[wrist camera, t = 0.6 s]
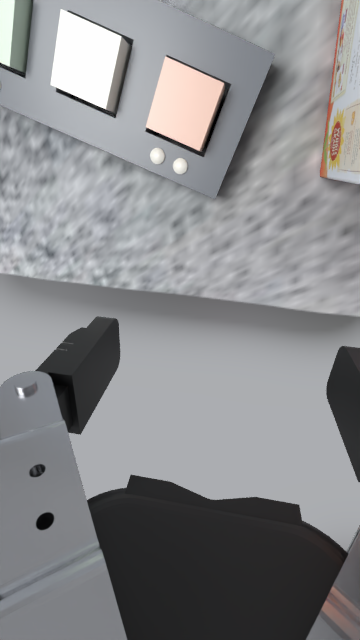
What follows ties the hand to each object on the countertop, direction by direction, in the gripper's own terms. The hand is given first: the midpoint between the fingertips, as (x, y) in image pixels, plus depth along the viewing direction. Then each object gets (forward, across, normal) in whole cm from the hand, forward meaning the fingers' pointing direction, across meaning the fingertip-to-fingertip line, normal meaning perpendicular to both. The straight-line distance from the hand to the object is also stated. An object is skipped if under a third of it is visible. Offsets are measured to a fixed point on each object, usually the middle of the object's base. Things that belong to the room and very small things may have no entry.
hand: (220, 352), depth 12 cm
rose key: (+25, +5, -10) cm, 27 cm away
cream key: (+25, +14, -13) cm, 31 cm away
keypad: (+27, +14, -13) cm, 33 cm away
